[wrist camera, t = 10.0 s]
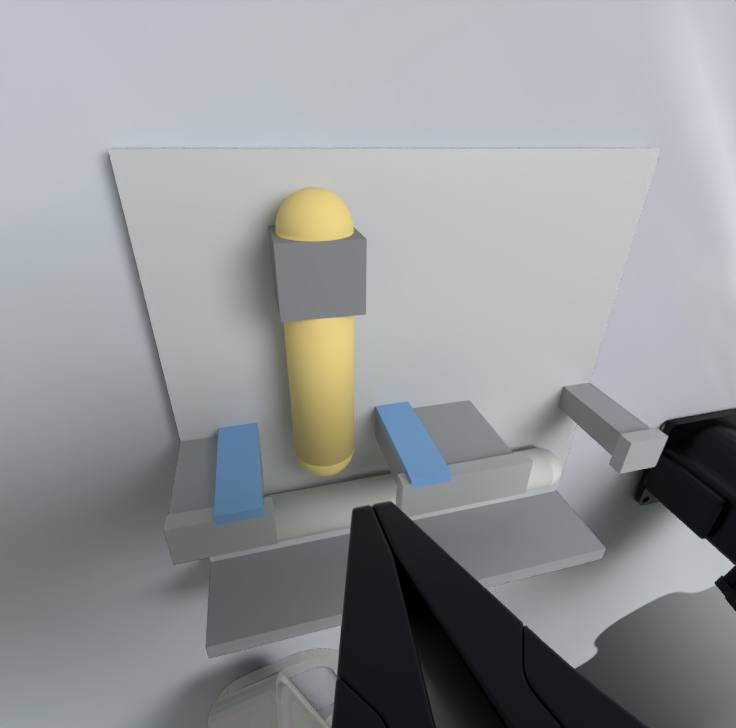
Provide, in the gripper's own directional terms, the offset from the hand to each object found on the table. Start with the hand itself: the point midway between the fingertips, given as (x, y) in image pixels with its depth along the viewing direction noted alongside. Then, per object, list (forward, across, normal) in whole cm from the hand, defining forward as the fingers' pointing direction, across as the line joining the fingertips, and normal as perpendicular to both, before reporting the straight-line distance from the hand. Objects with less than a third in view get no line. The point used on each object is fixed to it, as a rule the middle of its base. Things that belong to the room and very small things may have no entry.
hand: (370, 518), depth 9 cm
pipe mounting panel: (+10, -4, +3) cm, 11 cm away
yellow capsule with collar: (+9, 0, 0) cm, 9 cm away
